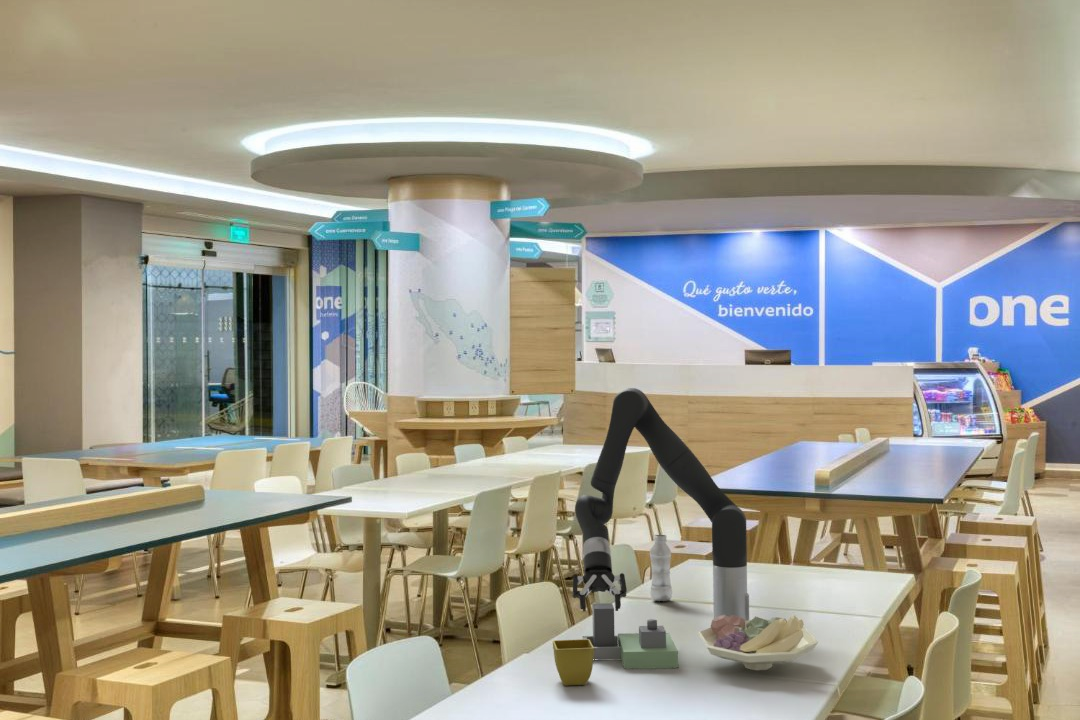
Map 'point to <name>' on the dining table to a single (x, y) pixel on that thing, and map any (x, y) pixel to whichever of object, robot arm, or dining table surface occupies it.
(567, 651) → the flower pot
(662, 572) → the plastic bottle
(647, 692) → the dining table surface
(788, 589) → the dining table surface
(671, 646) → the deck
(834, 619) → the dining table surface
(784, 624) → the dish with food
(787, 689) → the dining table surface
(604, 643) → the tall grey cuboid
